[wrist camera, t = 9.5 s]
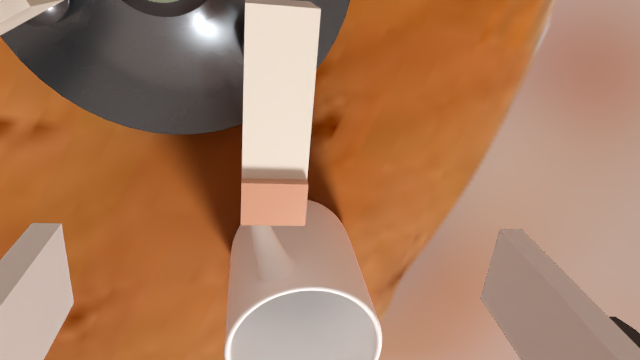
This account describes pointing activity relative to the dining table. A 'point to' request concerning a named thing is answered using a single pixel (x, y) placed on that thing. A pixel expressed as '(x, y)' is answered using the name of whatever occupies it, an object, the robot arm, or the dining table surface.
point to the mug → (299, 294)
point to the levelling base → (151, 58)
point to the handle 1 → (21, 11)
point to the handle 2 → (277, 110)
